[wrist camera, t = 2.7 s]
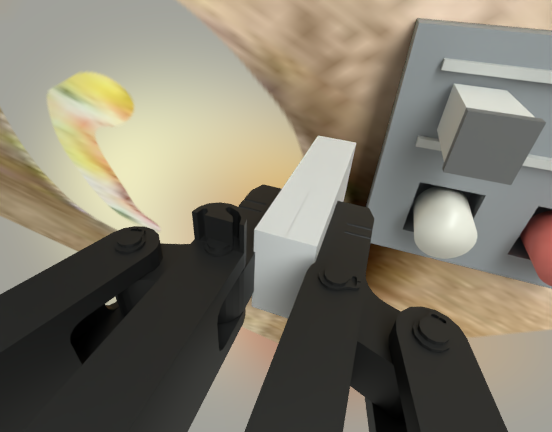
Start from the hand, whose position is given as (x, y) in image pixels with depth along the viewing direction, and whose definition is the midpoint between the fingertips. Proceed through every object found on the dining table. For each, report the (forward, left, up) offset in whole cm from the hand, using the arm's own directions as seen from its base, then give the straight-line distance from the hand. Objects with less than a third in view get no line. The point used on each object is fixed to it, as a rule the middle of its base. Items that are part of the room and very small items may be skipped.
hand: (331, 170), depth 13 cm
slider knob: (+7, 0, -12) cm, 14 cm away
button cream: (+8, -8, -13) cm, 17 cm away
